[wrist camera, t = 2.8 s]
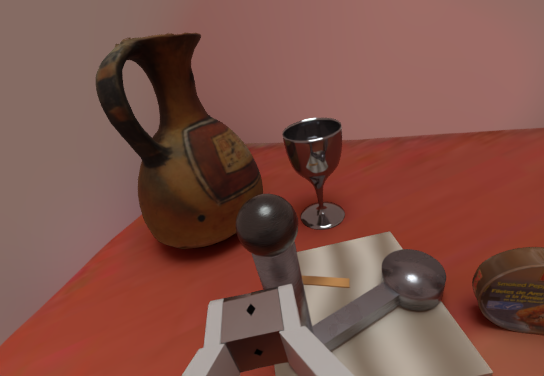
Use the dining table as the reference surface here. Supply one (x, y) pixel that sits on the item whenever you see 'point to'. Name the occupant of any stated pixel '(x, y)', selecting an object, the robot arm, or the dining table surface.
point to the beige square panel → (389, 328)
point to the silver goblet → (316, 164)
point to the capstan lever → (285, 270)
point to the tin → (513, 289)
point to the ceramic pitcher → (179, 146)
